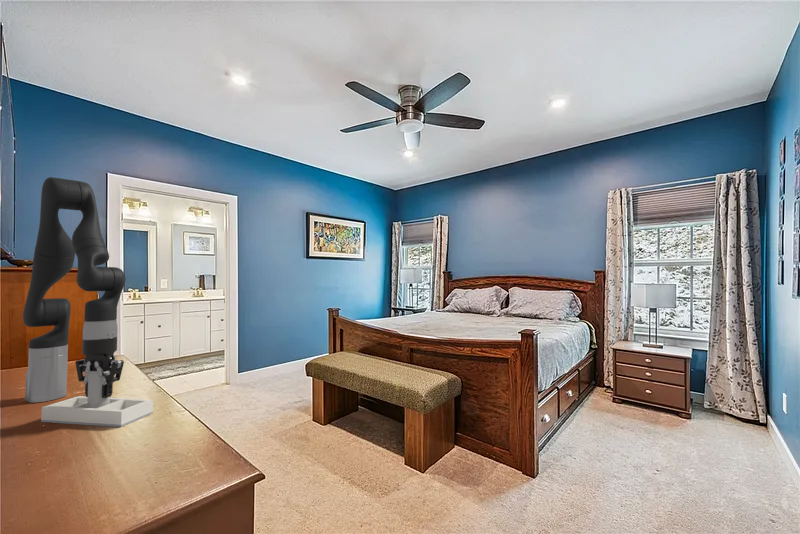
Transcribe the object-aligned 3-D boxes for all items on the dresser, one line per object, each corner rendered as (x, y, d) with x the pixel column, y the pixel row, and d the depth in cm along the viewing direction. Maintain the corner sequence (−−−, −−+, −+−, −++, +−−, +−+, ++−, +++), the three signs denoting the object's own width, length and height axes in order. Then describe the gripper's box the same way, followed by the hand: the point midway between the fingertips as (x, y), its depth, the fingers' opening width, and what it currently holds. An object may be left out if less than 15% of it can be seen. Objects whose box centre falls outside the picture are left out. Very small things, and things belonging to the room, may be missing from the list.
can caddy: (41, 421, 94) (41, 407, 95) (78, 409, 104) (78, 396, 104) (121, 427, 90) (121, 411, 90) (152, 413, 99) (152, 399, 100)
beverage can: (114, 409, 99) (115, 367, 100) (97, 415, 94) (99, 371, 95) (99, 408, 100) (100, 367, 100) (82, 415, 95) (83, 371, 96)
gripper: (64, 338, 95) (62, 400, 95) (108, 339, 93) (106, 402, 92) (93, 334, 103) (91, 391, 102) (134, 334, 101) (132, 393, 100)
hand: (98, 396), depth 97 cm, fingers closed on beverage can, 5 cm apart
